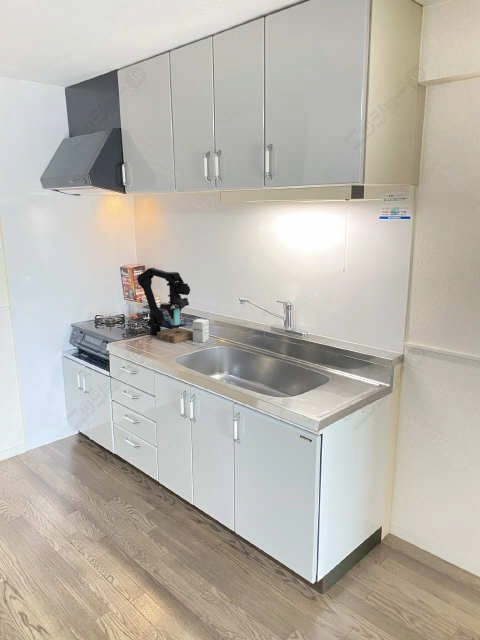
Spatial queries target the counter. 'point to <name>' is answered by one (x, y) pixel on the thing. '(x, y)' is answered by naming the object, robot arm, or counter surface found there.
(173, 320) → the teal peg
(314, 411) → the counter surface
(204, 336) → the supplement box
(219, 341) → the counter surface
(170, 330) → the walnut socket
